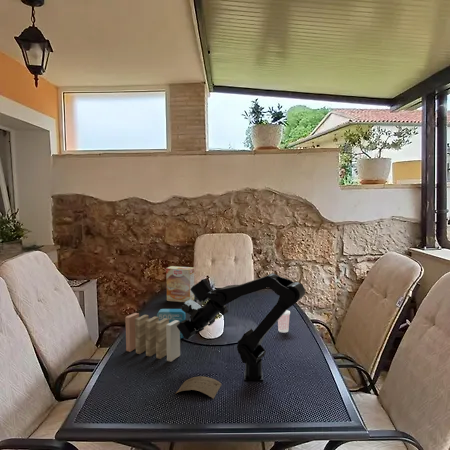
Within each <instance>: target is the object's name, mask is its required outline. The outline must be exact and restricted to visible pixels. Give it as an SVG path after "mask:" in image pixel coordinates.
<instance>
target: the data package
mask: <svg viewBox="0 0 450 450" xmlns="http://www.w3.org/2000/svg"><path fill="white" fill-rule="evenodd" d="M186 314H187V313H185V312H184V311H182V308H160V309H159V310H158V312H157V314H156V317H159V321H160V320H162V319H164V318H167V319H169V323H171V322H173V321H175V320H178V321H180V322H182V321H183V320H187V319H186V318H187V317H186V316H187V315H186ZM184 338H185V337H183V335H182V333H181V332H180V340H181V339H184Z"/></svg>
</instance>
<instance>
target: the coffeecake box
mask: <svg viewBox="0 0 450 450" xmlns="http://www.w3.org/2000/svg"><path fill="white" fill-rule="evenodd" d="M165 272H166V274H165V275H166V301H168V302H178V303H185V302H186V301H188V300H193V301H195V295H194V294H193V293H192V291H191V290H190V289H191V288H192V287H193V286H194V285H195V267H191V266H190V267H189V266H176V265H175V266H174V265H170V266H168V267H166V268H165Z"/></svg>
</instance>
